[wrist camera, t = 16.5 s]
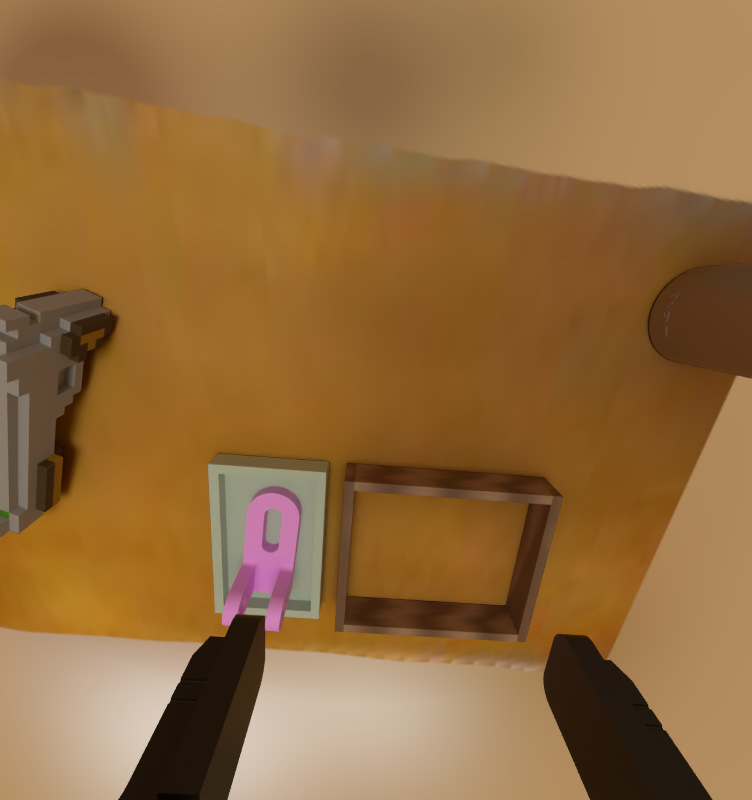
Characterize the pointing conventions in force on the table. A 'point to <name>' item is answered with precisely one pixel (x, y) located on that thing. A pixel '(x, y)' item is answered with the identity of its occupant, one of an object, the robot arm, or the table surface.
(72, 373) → the toy
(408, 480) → the crate
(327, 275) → the table surface
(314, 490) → the tray
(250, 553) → the bracket
